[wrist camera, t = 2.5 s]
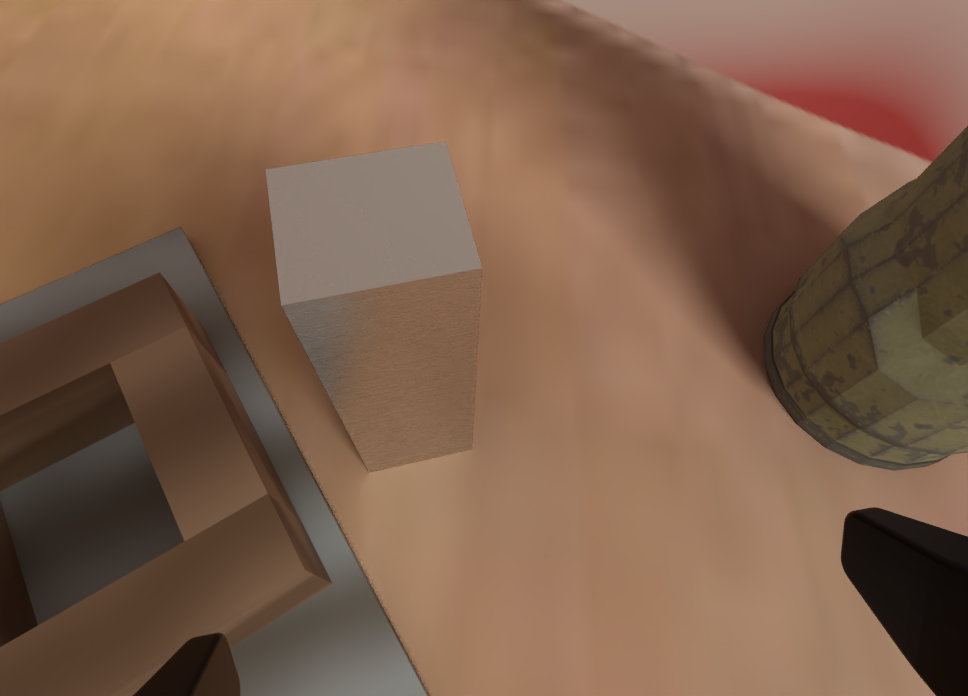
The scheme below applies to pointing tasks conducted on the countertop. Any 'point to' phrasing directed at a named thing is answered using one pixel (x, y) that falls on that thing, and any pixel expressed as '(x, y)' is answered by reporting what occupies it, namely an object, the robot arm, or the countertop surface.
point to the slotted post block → (165, 499)
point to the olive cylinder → (884, 328)
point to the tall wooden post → (383, 295)
